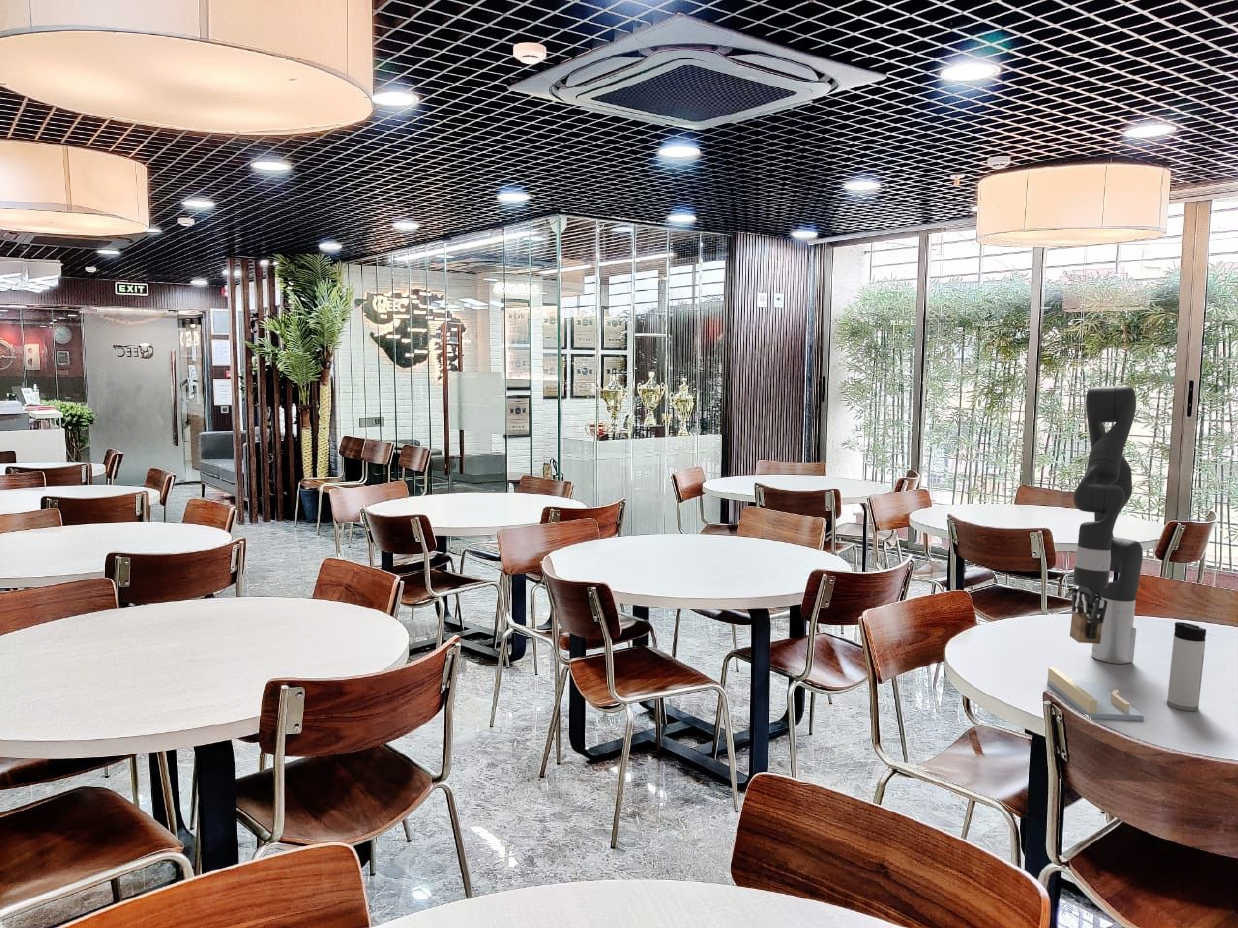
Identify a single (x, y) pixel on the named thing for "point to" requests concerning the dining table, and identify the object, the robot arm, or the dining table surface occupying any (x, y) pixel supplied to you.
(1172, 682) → the travel mug
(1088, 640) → the walnut box
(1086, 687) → the board
